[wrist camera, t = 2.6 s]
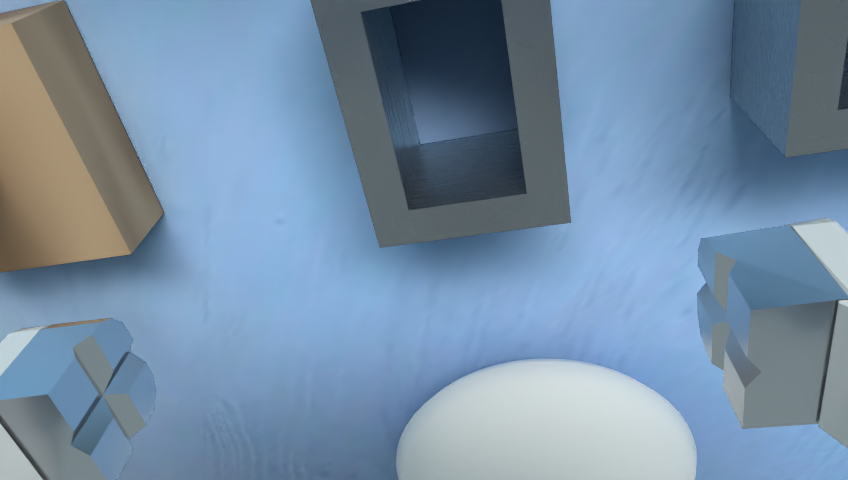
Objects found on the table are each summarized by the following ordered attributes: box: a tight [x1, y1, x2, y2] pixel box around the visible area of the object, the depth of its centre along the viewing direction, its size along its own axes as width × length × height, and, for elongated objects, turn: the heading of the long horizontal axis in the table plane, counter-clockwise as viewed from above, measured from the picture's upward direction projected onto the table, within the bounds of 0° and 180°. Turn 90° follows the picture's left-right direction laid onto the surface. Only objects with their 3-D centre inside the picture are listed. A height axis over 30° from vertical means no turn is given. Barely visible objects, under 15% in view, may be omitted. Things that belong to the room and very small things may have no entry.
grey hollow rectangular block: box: [311, 0, 571, 248], centre depth 17 cm, size 7×5×4 cm
